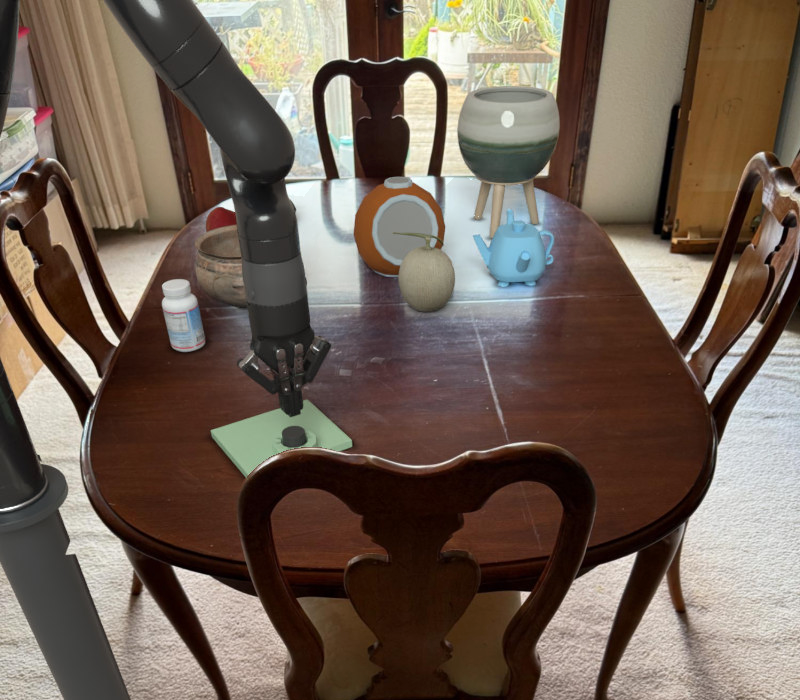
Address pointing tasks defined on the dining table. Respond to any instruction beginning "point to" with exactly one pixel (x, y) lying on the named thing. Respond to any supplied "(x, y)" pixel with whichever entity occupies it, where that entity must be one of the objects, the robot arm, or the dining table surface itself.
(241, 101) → the robot arm
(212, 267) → the cooking pot
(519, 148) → the planter
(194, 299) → the pill bottle
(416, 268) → the fruit
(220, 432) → the scale
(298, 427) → the button
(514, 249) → the teapot
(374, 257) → the alarm clock
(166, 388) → the dining table surface
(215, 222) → the apple
